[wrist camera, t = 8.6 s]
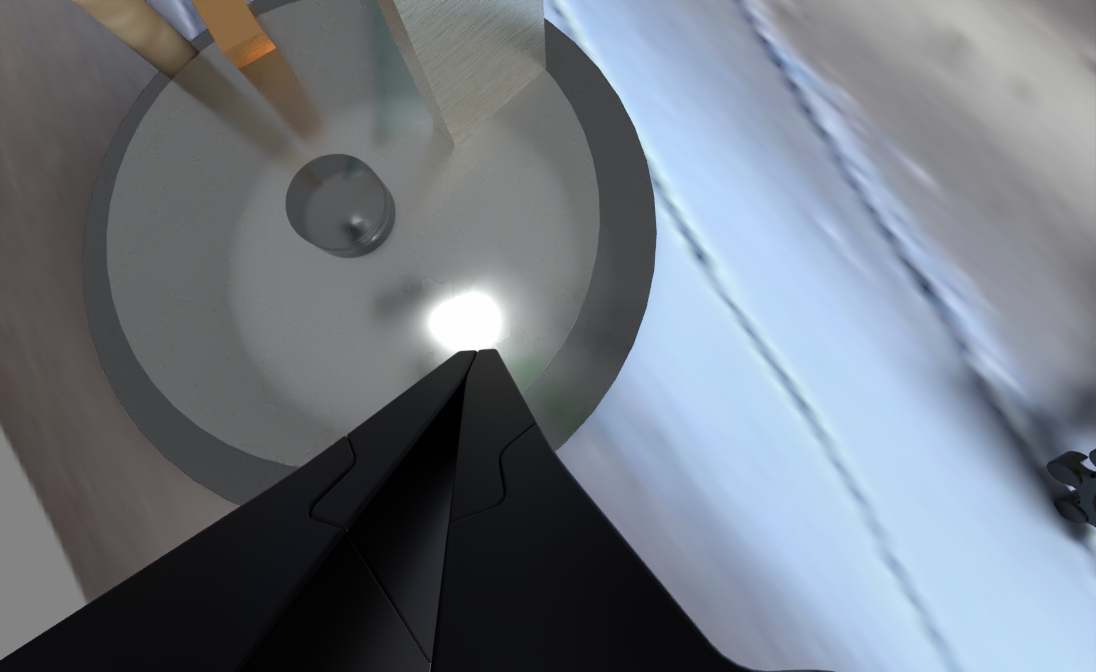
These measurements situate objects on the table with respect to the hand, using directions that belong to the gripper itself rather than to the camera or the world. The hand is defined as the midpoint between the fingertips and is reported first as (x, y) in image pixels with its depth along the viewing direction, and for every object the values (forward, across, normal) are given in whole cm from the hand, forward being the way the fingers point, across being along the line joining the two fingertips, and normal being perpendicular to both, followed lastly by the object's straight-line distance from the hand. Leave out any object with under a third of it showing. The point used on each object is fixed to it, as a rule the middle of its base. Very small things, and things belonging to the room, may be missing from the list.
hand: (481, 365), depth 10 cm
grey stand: (+13, -8, -1) cm, 15 cm away
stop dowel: (+20, -16, +4) cm, 26 cm away
